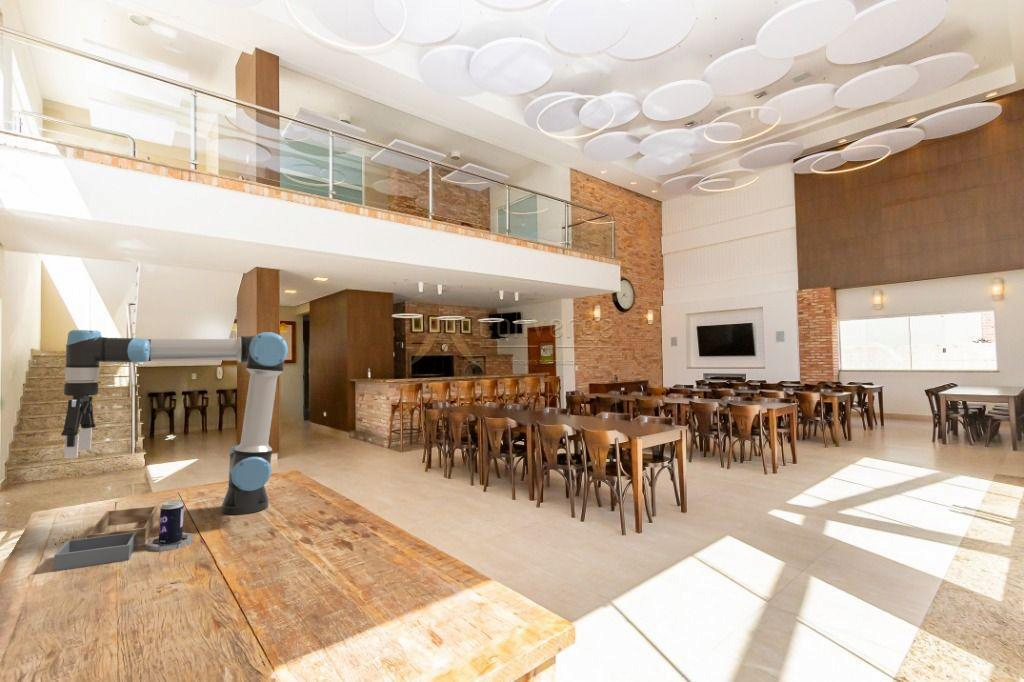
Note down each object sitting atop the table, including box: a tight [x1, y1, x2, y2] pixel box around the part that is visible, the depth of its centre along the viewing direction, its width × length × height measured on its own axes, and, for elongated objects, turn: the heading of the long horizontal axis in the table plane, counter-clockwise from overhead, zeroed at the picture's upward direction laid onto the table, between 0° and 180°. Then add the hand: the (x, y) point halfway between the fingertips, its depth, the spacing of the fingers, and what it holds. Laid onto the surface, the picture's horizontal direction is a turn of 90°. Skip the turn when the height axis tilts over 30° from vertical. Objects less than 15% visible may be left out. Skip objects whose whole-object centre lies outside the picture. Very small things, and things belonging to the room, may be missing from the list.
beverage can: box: [158, 499, 185, 545], centre depth 142 cm, size 6×6×12 cm
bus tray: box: [53, 532, 137, 572], centre depth 131 cm, size 15×11×4 cm
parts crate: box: [86, 505, 158, 546], centre depth 148 cm, size 13×24×4 cm, turn 30°
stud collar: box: [145, 531, 194, 552], centre depth 142 cm, size 11×11×1 cm
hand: (78, 453), depth 142 cm, fingers open, 13 cm apart
